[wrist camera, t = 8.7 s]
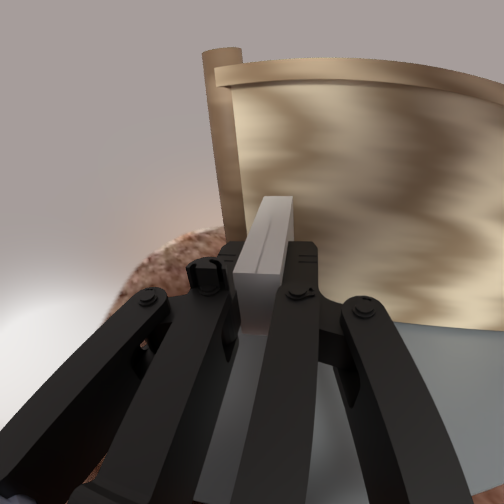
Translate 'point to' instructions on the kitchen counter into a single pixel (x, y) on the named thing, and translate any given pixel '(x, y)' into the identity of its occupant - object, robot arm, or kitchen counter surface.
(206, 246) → the kitchen counter surface
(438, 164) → the fence panel
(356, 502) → the card
